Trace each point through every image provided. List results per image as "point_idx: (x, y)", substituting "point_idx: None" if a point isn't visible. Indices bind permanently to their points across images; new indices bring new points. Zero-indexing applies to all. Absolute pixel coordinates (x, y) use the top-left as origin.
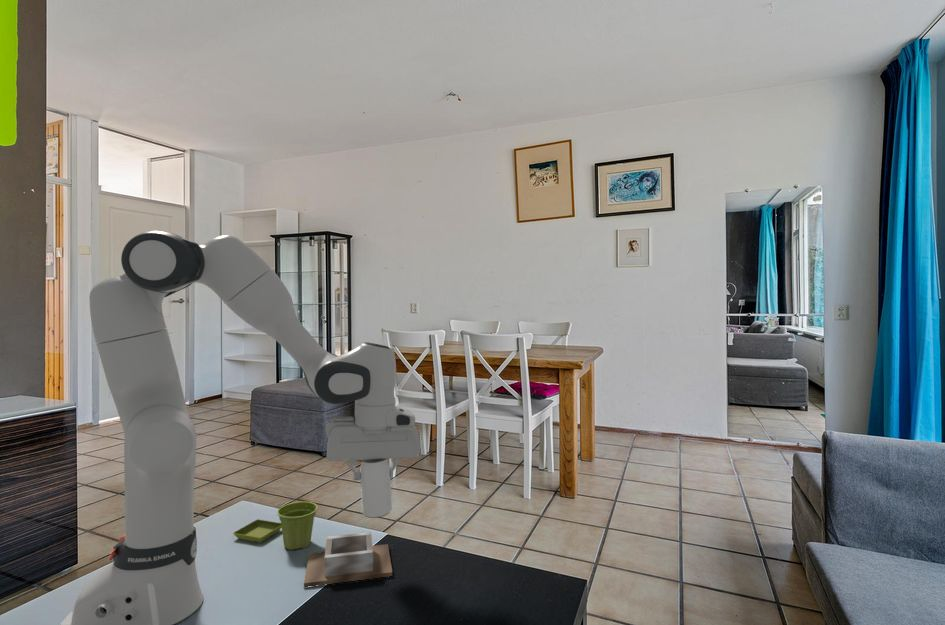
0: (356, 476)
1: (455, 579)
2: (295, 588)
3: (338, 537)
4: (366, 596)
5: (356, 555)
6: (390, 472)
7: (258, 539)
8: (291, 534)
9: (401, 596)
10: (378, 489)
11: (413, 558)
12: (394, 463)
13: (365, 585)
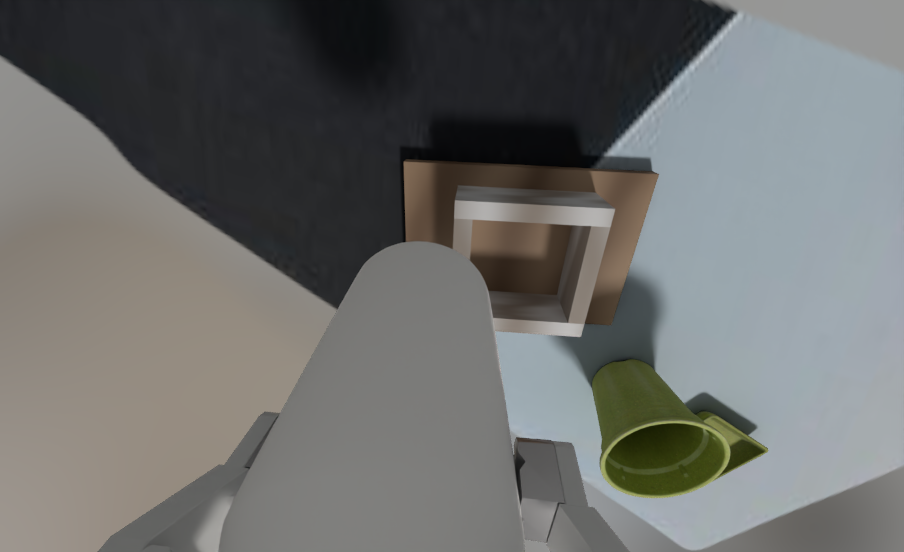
0: (553, 466)
1: (221, 84)
2: (674, 176)
3: (548, 323)
4: (488, 65)
5: (509, 202)
6: (255, 452)
7: (714, 414)
8: (663, 387)
9: (384, 30)
10: (386, 319)
11: (345, 237)
12: (155, 539)
13: (484, 132)
